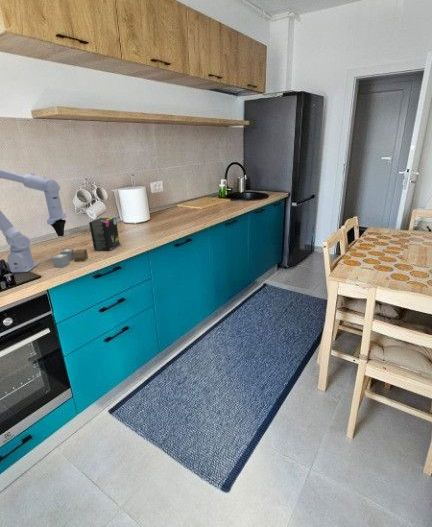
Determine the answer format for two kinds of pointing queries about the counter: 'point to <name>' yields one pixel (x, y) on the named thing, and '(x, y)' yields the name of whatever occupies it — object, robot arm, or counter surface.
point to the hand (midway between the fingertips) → (61, 236)
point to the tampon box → (104, 234)
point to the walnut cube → (80, 255)
